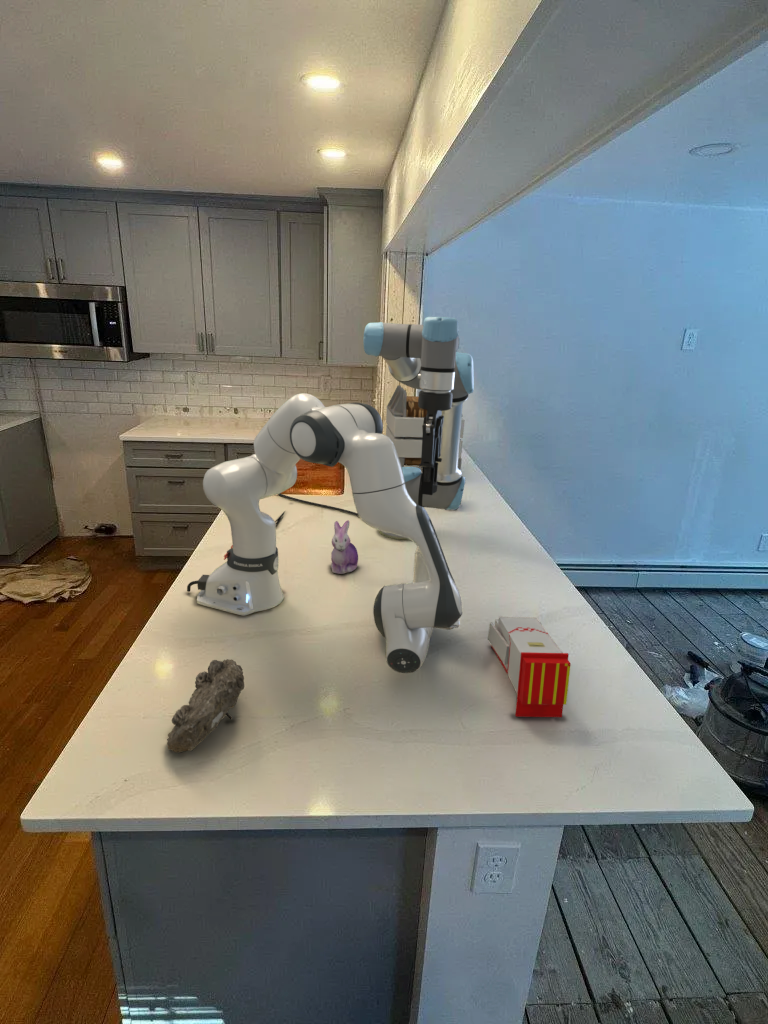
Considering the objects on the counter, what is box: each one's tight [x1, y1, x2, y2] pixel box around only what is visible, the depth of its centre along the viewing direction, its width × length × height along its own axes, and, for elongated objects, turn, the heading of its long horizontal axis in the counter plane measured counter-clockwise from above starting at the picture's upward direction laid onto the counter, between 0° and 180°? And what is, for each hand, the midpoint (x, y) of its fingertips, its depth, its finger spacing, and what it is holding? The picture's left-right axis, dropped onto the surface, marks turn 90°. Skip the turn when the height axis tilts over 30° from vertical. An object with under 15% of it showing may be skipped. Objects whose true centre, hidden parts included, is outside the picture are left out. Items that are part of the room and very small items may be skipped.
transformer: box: [385, 384, 465, 472], centre depth 268 cm, size 34×33×41 cm
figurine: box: [330, 519, 359, 575], centre depth 169 cm, size 9×10×15 cm
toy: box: [487, 616, 572, 718], centre depth 123 cm, size 12×13×30 cm
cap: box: [420, 482, 437, 493], centre depth 133 cm, size 4×4×2 cm
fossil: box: [166, 658, 245, 754], centre depth 106 cm, size 22×10×15 cm
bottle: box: [412, 546, 431, 583], centre depth 141 cm, size 4×4×24 cm
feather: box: [274, 510, 286, 528], centre depth 212 cm, size 2×28×2 cm
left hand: (421, 595), depth 144 cm, fingers closed on bottle, 4 cm apart
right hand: (428, 491), depth 133 cm, fingers closed on cap, 4 cm apart
